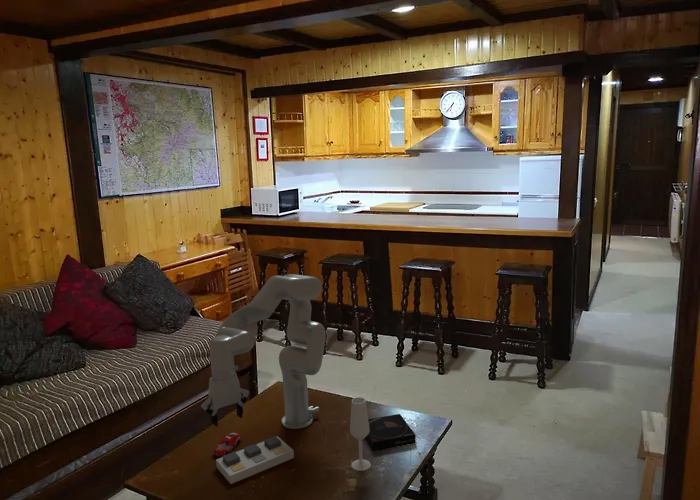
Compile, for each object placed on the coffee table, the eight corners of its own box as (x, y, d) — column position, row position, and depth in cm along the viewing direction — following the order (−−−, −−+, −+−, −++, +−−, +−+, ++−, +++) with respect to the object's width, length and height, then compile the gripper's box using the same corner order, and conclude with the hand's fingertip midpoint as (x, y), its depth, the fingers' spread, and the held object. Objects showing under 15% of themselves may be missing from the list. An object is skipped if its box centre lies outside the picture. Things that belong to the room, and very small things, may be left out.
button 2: (275, 443, 197) (275, 436, 197) (281, 448, 194) (280, 441, 193) (264, 447, 195) (264, 440, 194) (270, 453, 191) (269, 445, 191)
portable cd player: (399, 422, 213) (399, 413, 212) (415, 444, 197) (415, 434, 196) (359, 429, 209) (359, 419, 208) (372, 452, 193) (372, 442, 192)
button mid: (255, 451, 193) (255, 443, 192) (261, 456, 189) (260, 449, 189) (244, 455, 190) (243, 448, 190) (250, 461, 187) (249, 453, 186)
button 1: (235, 459, 188) (234, 451, 188) (240, 465, 185) (239, 457, 184) (223, 464, 186) (222, 456, 185) (228, 469, 182) (227, 461, 182)
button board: (277, 443, 200) (277, 435, 199) (293, 457, 190) (293, 449, 190) (216, 467, 186) (216, 459, 186) (230, 484, 177) (230, 475, 176)
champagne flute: (357, 472, 180) (354, 407, 176) (347, 462, 186) (345, 398, 182) (374, 466, 183) (372, 401, 179) (364, 457, 189) (362, 394, 185)
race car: (223, 459, 192) (222, 449, 191) (211, 457, 194) (210, 447, 193) (244, 440, 203) (243, 431, 203) (231, 438, 206) (231, 428, 205)
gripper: (242, 362, 187) (246, 408, 190) (194, 376, 177) (198, 424, 180) (252, 369, 181) (255, 416, 184) (202, 383, 171) (207, 433, 174)
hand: (227, 420), depth 182 cm, fingers open, 8 cm apart
